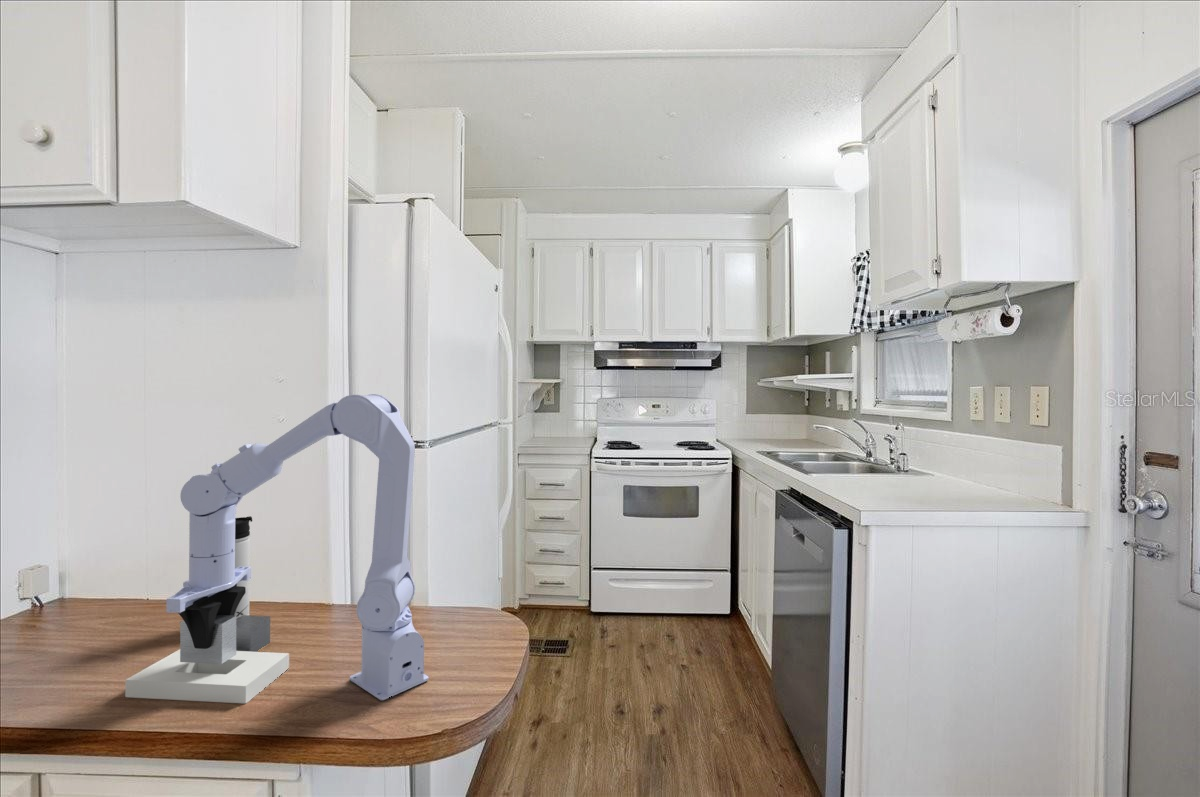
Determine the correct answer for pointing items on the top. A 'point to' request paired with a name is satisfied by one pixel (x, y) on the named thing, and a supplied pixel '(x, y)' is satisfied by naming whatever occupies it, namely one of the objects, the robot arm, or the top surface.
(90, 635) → the top surface
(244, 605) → the travel mug
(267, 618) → the square bit
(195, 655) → the blocky grey bit
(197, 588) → the robot arm
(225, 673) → the slot board
